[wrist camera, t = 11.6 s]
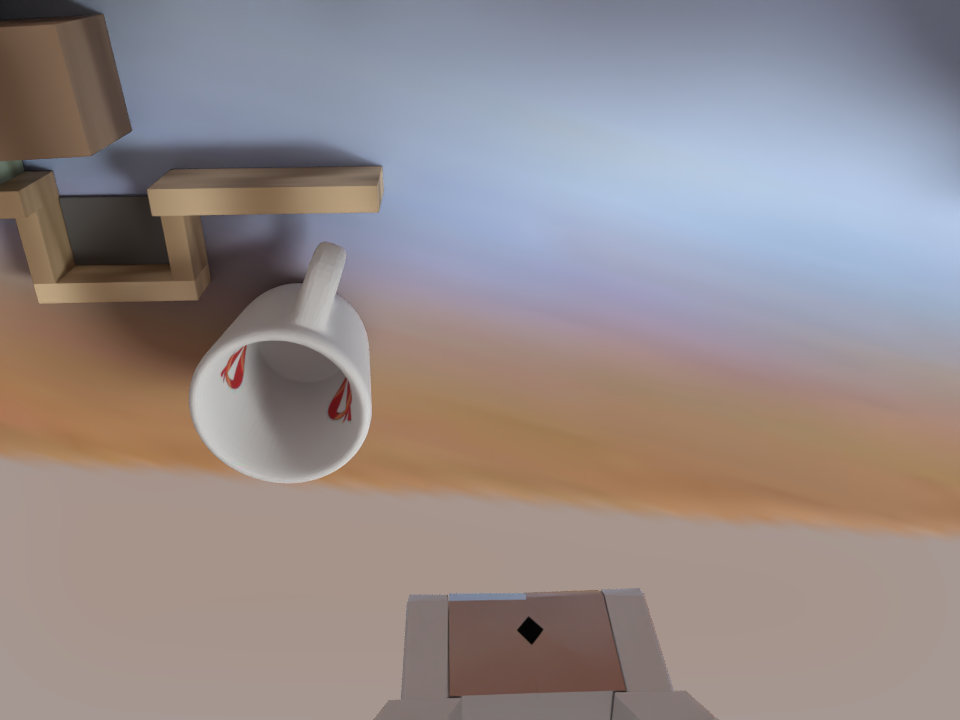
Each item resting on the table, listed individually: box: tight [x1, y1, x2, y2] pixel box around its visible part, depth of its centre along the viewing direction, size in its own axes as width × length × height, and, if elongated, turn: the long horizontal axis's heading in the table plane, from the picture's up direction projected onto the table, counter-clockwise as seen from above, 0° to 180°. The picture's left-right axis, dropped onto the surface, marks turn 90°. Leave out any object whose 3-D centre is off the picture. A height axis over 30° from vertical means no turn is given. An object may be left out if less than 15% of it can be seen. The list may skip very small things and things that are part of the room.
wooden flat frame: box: [0, 160, 384, 304], centre depth 35 cm, size 18×19×4 cm
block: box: [0, 14, 132, 161], centre depth 34 cm, size 5×5×5 cm
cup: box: [189, 242, 372, 483], centre depth 38 cm, size 11×8×8 cm
